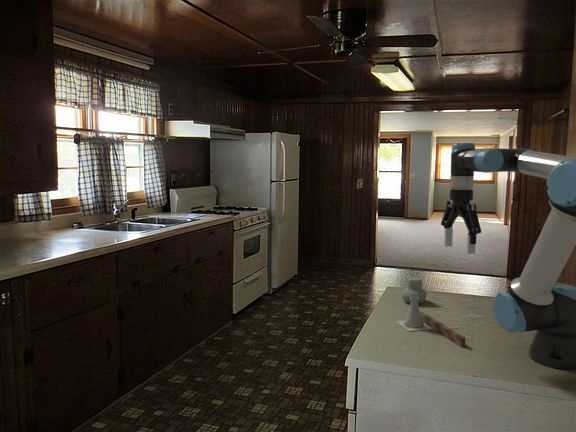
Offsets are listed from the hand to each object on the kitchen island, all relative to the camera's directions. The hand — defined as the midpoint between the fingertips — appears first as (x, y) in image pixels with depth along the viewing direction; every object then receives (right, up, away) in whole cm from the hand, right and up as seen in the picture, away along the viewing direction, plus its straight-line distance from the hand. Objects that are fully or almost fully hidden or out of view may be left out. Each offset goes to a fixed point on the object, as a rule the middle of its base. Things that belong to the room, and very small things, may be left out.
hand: (459, 249), depth 171 cm
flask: (-14, -28, +8) cm, 32 cm away
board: (-14, -28, +8) cm, 32 cm away
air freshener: (-6, -25, +37) cm, 45 cm away
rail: (-6, -29, +1) cm, 29 cm away
